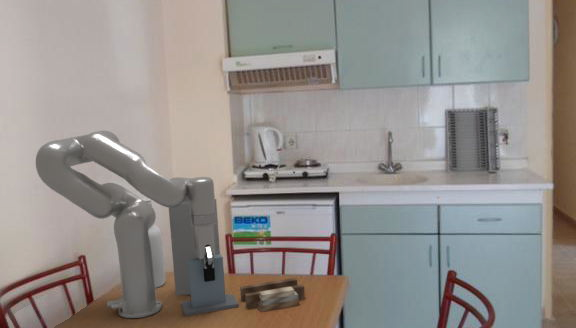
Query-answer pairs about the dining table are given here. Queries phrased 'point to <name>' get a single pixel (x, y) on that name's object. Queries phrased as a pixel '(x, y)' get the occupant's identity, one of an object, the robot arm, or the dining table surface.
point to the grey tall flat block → (185, 244)
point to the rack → (252, 291)
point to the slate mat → (209, 306)
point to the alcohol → (156, 252)
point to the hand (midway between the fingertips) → (207, 276)
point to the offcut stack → (277, 299)
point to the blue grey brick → (206, 283)
